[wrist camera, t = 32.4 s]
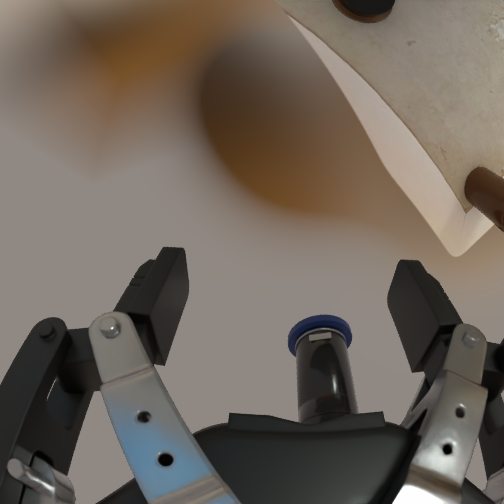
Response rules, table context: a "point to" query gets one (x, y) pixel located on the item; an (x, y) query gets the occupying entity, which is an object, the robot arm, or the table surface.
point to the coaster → (360, 18)
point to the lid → (367, 7)
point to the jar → (486, 194)
